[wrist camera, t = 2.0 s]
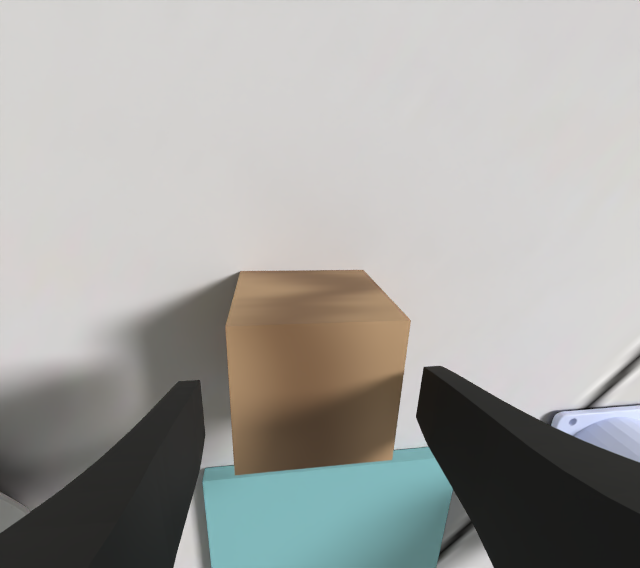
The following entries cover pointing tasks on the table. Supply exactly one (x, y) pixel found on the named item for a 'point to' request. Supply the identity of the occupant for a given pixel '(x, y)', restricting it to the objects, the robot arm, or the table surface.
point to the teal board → (329, 515)
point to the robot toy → (10, 511)
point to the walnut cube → (313, 369)
